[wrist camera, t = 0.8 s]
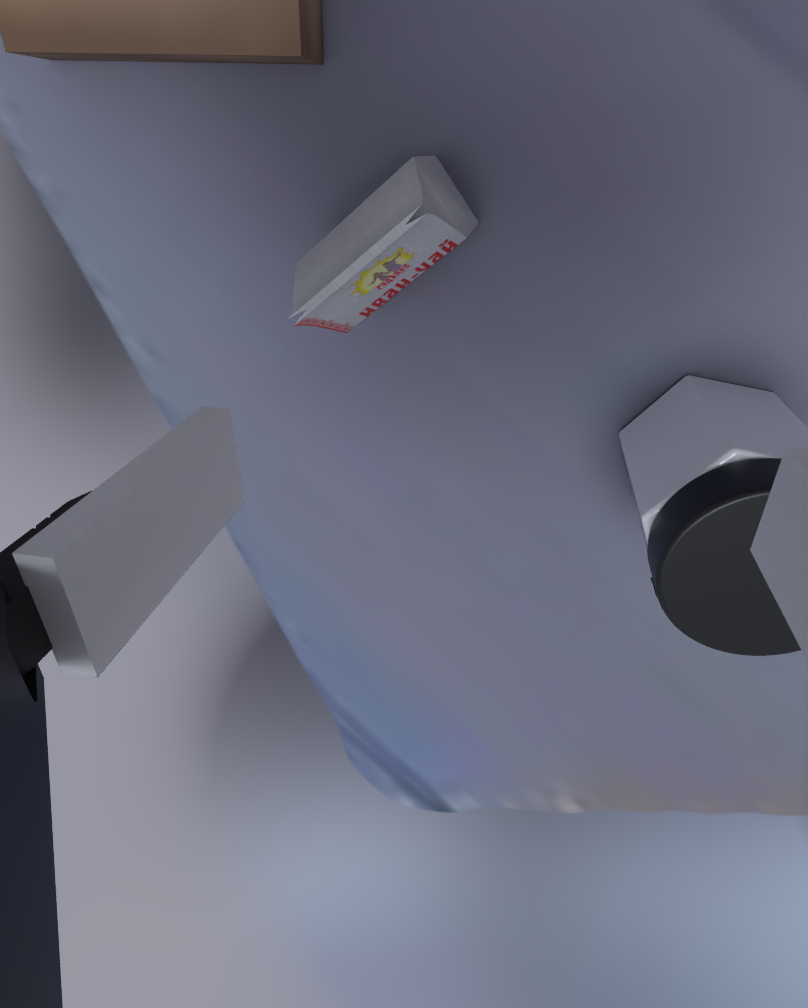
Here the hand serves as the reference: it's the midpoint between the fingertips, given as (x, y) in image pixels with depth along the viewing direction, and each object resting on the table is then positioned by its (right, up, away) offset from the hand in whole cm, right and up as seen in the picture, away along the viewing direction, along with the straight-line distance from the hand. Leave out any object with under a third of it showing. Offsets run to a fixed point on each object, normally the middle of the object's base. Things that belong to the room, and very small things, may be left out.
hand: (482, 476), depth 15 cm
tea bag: (-2, +13, +16) cm, 21 cm away
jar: (+14, +2, +19) cm, 24 cm away
